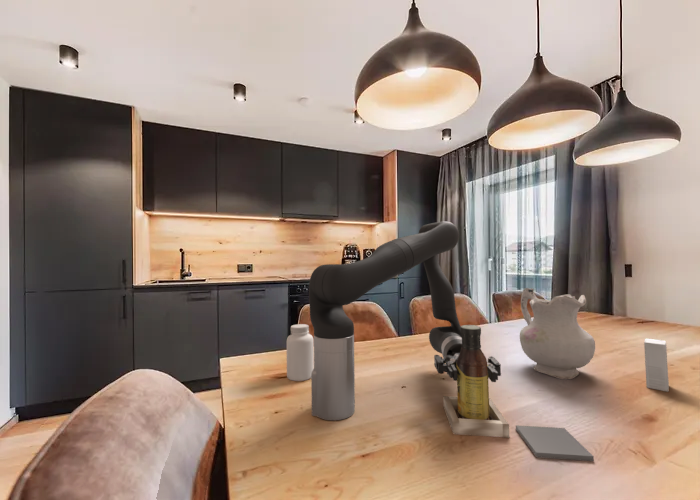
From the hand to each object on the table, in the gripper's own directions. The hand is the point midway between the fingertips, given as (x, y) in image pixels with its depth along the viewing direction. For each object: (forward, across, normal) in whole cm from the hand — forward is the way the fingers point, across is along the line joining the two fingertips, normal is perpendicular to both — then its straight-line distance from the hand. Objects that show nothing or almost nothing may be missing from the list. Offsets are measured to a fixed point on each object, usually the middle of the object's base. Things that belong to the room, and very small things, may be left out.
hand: (474, 376), depth 64 cm
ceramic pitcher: (-37, +32, +10) cm, 50 cm away
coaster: (+5, +12, +10) cm, 16 cm away
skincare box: (-26, +53, +10) cm, 60 cm away
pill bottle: (-23, -44, +10) cm, 51 cm away
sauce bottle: (-2, 0, +10) cm, 10 cm away
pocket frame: (-2, 0, +10) cm, 10 cm away
